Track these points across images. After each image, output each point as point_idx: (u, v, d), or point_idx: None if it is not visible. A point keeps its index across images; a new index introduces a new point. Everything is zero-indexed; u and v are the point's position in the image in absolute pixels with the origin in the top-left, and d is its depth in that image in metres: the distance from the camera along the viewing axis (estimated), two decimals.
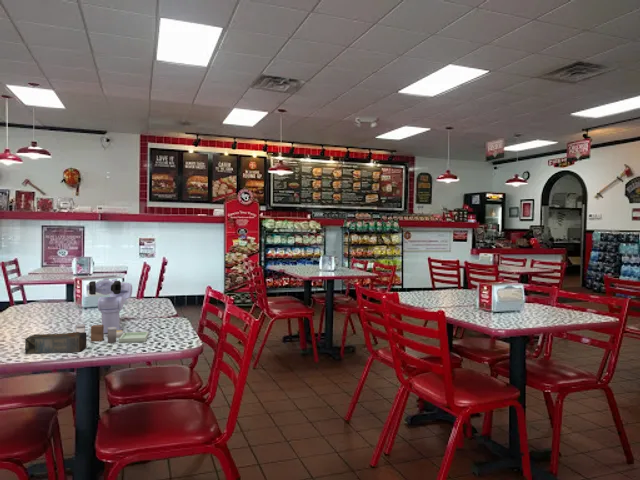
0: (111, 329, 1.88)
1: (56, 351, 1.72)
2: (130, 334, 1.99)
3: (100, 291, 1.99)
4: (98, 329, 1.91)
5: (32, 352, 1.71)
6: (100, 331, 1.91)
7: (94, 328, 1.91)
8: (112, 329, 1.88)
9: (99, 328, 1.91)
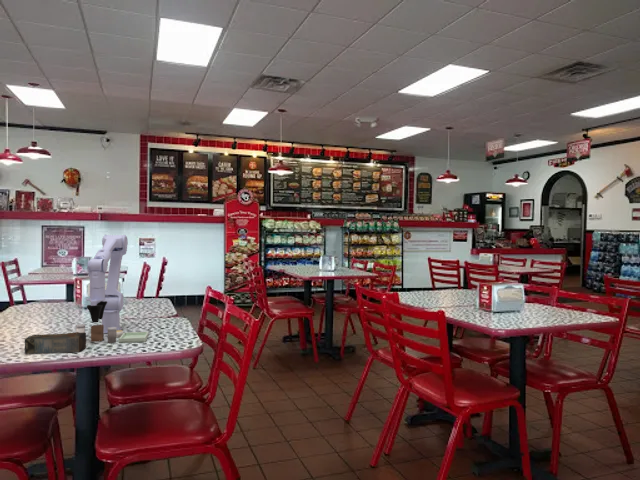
0: (111, 329, 1.88)
1: (56, 351, 1.72)
2: (130, 334, 1.99)
3: None
4: (98, 329, 1.91)
5: (31, 352, 1.70)
6: (100, 331, 1.91)
7: (94, 328, 1.91)
8: (112, 329, 1.88)
9: (99, 328, 1.91)
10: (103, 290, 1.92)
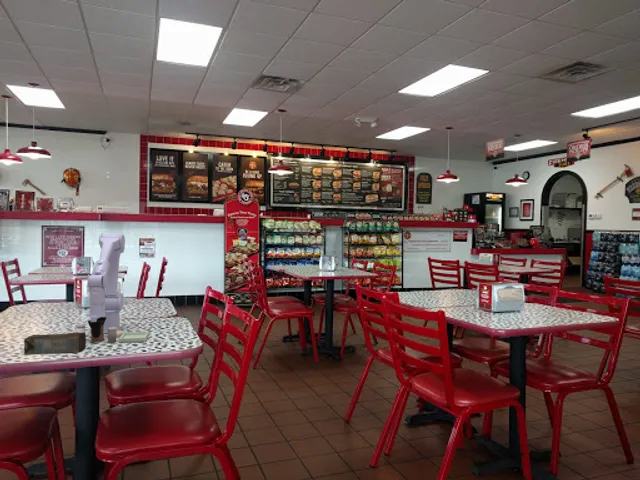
0: (111, 329, 1.88)
1: (55, 351, 1.71)
2: (130, 334, 1.99)
3: None
4: None
5: (31, 352, 1.70)
6: (100, 331, 1.91)
7: None
8: (112, 329, 1.88)
9: None
10: (103, 306, 1.92)
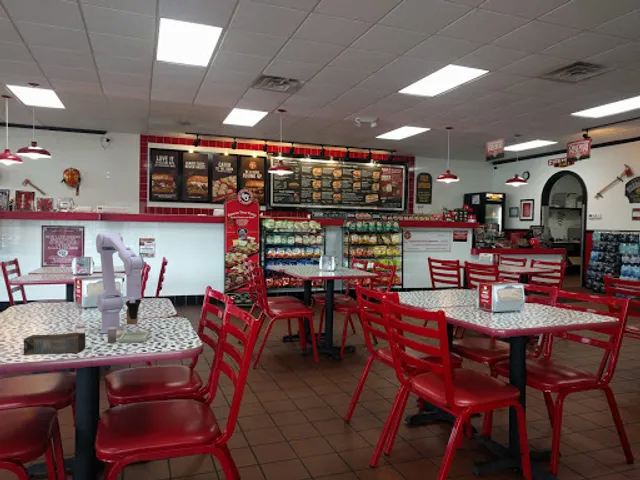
0: (111, 329, 1.88)
1: (55, 352, 1.71)
2: (130, 334, 1.99)
3: None
4: None
5: (30, 353, 1.70)
6: None
7: None
8: (112, 329, 1.88)
9: None
10: (140, 288, 1.94)
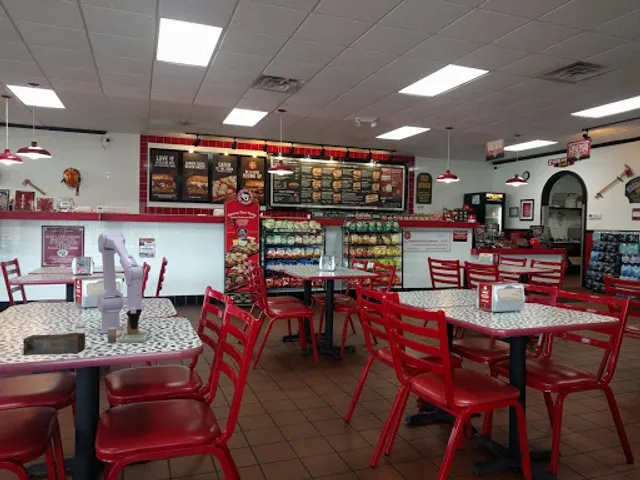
0: (111, 329, 1.88)
1: (54, 352, 1.71)
2: None
3: None
4: None
5: (30, 353, 1.69)
6: None
7: None
8: (112, 329, 1.88)
9: None
10: (140, 298, 1.94)
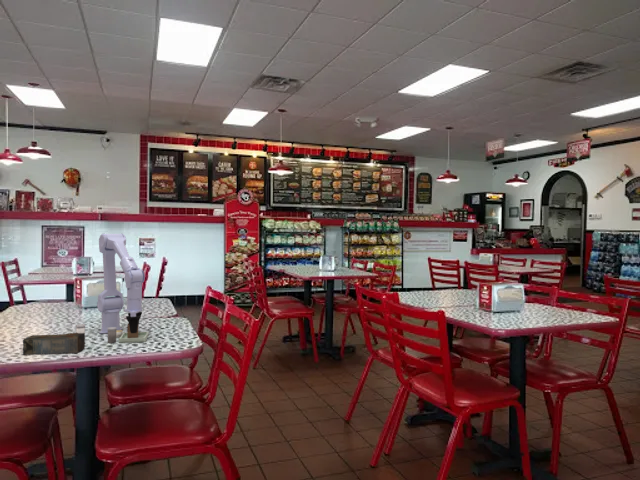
0: (111, 329, 1.88)
1: (54, 352, 1.71)
2: None
3: None
4: None
5: (30, 353, 1.69)
6: None
7: None
8: (112, 329, 1.88)
9: None
10: (140, 301, 1.94)
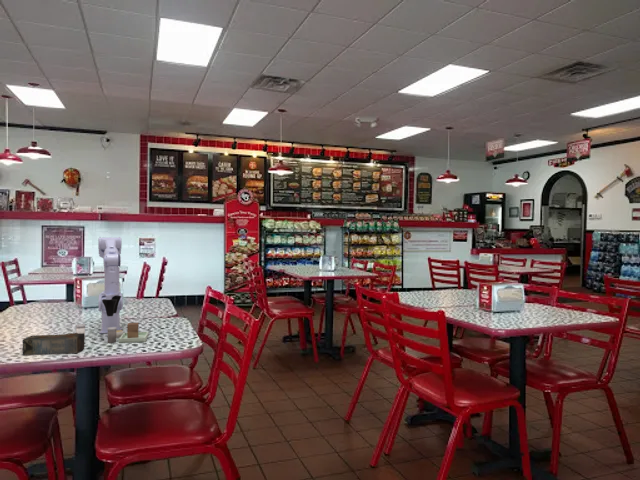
0: (111, 329, 1.88)
1: (54, 352, 1.70)
2: None
3: None
4: (134, 327, 1.93)
5: (29, 353, 1.69)
6: (136, 329, 1.93)
7: (130, 326, 1.93)
8: (112, 329, 1.88)
9: (135, 326, 1.93)
10: (117, 285, 1.96)
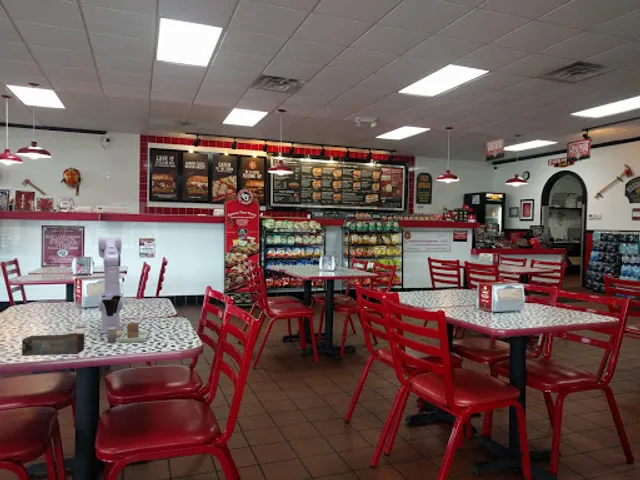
0: (111, 329, 1.88)
1: (53, 352, 1.70)
2: None
3: None
4: (134, 327, 1.93)
5: (29, 353, 1.68)
6: (136, 329, 1.93)
7: (130, 326, 1.93)
8: (112, 329, 1.88)
9: (135, 326, 1.93)
10: (117, 285, 1.96)
